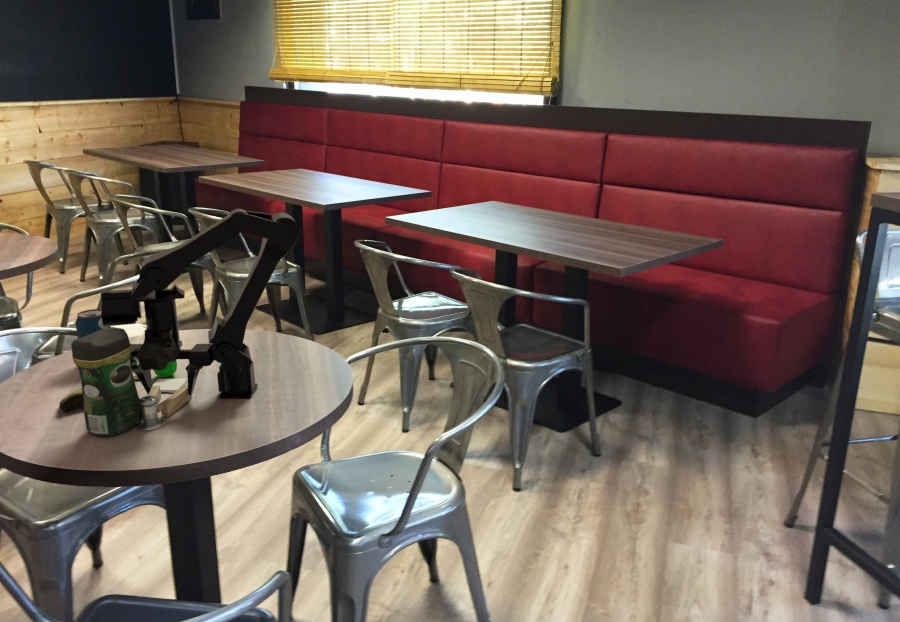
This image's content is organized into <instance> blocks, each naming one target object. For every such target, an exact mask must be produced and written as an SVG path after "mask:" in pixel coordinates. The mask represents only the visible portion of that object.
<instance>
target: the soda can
mask: <svg viewBox="0 0 900 622" xmlns="http://www.w3.org/2000/svg"><path fill="white" fill-rule="evenodd" d="M101 311H102V308H100V309H99V308H96V309H95V308H94V309H88V310H87V309H86V310H82V311H79V312H78V313H77V314H76V318H75V319H76V320H75V329H76V335H77V339H78V338H82V337H84V336H87V335H89V334H92V333H94V332H97V331H100V330H102V329H105V328H106V327H111V326H106V327H104V325H103V322H102V317H101Z"/></svg>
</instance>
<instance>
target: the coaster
mask: <svg viewBox="0 0 900 622" xmlns="http://www.w3.org/2000/svg"><path fill="white" fill-rule="evenodd" d="M187 383H188V378H158V379H157V380H156V381H155V382H154V383H152V386H158V385H160V392H169V394H170V393H172V394H173V393H175V392H176V391H177V390H179V389H180V388H181V387H183V386H184V385H186V384H187Z"/></svg>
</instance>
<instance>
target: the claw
mask: <svg viewBox="0 0 900 622" xmlns="http://www.w3.org/2000/svg"><path fill="white" fill-rule="evenodd" d="M133 377H134V381H140V380H139V378H138V377H137V376H136V375H133ZM58 405H59V409H60V411H62V412H63V413H72V412H74V411H77V410H80V409H83V408H82V407H84V403H83V392H82V387H79V388H77V389H75V390H74V391H72V392H70V393H69V394H67V395H65V396H64V397H63V398H62V399H61V400H60V402H59V404H58ZM79 408H80V409H79ZM76 409H77V410H76ZM73 410H74V411H73ZM71 411H72V412H71Z"/></svg>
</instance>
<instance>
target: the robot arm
mask: <svg viewBox="0 0 900 622" xmlns="http://www.w3.org/2000/svg"><path fill="white" fill-rule="evenodd" d="M241 233H244V234H249V235H252V236H257V237H260V238H262V241H261V244H260V245H261V246H260V249H259V253H258V255H257V257H256V259H255V261H254V262H253V265H252V267H251V269H250V270H249V273H248V275H247V276H246V279H245V281H244V282H243V285H242V287H241V288H240V290H239V292H238V295H237V297H236V298H235V300H234V302H233V304H232V306H231V308H230V310H229V312H228V313H227V314H226V315H225V316H224V317H223V318H221V317H219V316H218V315H216V316H215V318H214V319H215V320H214V323H213V326H212V327H211V328H210V329H209V330H208V331H207V337H208V343H195V345H194V346H193V347H192V348H191V349H182V346H183V341H182V340H180V330H179V328H180V327H181V321H179V320H178V313H177V312H178V311H177V303H176V300H180V299H185V295H186V293H185V290H184V289H182V288H180V287H179V286H178V285H177V284H176V283H175V284H173V285H172V286H171V287H170V288H168V287H169V286H170V285H171V284H172V283H173V282H175V281H176V279H178V278H179V277H180V275H181V274H182V273H183V272H184V271H186V269H187V268H188V267H190V265H192V264H193V263H195V262H196V261H198V260H200V259H201V258H202V257H205V256H206V255H207V254H209V253H211V252H212V251H213V250H215V249H217V248H219V247H220V246H221V245H223V244H225V243H226V242H229V240H231V239H232V238H234V237H236V236H237V235H240V234H241ZM300 235H301V229H300V227H299V224H298V223H297V222H296V220H295V219H294V218H293V217H292V216H291V215H290V214H288V213H286V212H277V213H273V214H269V213H265V212H264V213H263V212H257V211H249V210H245V209H242V208H235V209H233V210H231V211H230V212H229V214H227V215H226V216H224V217H222V218H221V219H219V220H218V221H216V222H214V223H213V224H211V225H210V226H208V227H206V228H205V229H203V230H202V231H200V232H199V233H197V234H195V235H194V236H192V237H190V238H189V239H187V240H186V241H184V242H183V243H181V244H179V245H176V246H174V247H171V248H168V249H164V250H162V251H159V252H156V253H154V254H151V255H149V256H147V257H146V258H145V259H144V260H143V261H142V263H141V266H140V269H139V275H138V279H137V280H136V282H133V285H132V286H133V287H132V289H131V288H129V289H128V288H127V289H117V290H116V289H115V290H112V289H105V290H102V291H101V293H100V298H101V310H102V311H101V317H102V322H103V325H104V327H106V326H110V327H114V326H115V327H116V326H125V325H136V324H137V322H138V321H139V319H142V317H143V314H142V313H143V312H142V310H143V309H142V302H143V308H144V316H145V323H146V329H145V330H144V333H143V334H144V339H143V343H130V344H131V355H130V361H131V368H132V373H134V374H135V376H137V377H138V378H139V380H138V381H139V382H140V384H141V385H142V387H143V388H144V390H145V392H146V393H147V396H148V395H149V392H150V390H151V388H152V386H153V379H152V372H151V371H152V370H163V369H165V368H166V367H167V363H170V362H177V360H188V364H187V365H186V367H185V372H186V373H187V374H186V375H187V385H188V392H189V396H191V395H192V396H193V393H194V389H195V387H196V383H197V379H198V376H199V373H200V371H201V369H202V368H204V367H210V366H211V365H212V364H213V362H217V363H219V364H220V365H219V366H218V369H219V371H218V372H217V374H216V375H217V387H218V392H219V394H218V397H219V399H230V398H231V399H247V398H248V399H249V398H252V396H253V395H254V393H255V391H256V390H257V388H258V386H259V385H258V383H256V379H255V378H256V377H255V376H256V375H255V368H254V367H255V366H254V360H252V355H251V353H250V352H251V351H250V347H249V346H248V345H247V344H246V343H244V339H245V335H246V330H247V326H248V324H249V323H248V322H249V321H250V319H251V317H252V315H253V312H254V311H255V308H256V307H257V306H258V303H259V302H260V299H261V297H262V296H263V293H264V291H265V289H266V288H267V285H268V283H269V281H270V280H271V278H272V276H273V274H274V271H275V269H276V268H277V266H278V264H279V262H281V261H282V260H283V258H285V256H287V255H288V254H289V252H290V251H291V249H293V248H294V246H295V244H296V243H297V242H298V240H299V238H300ZM153 292H154V293H153Z"/></svg>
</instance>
